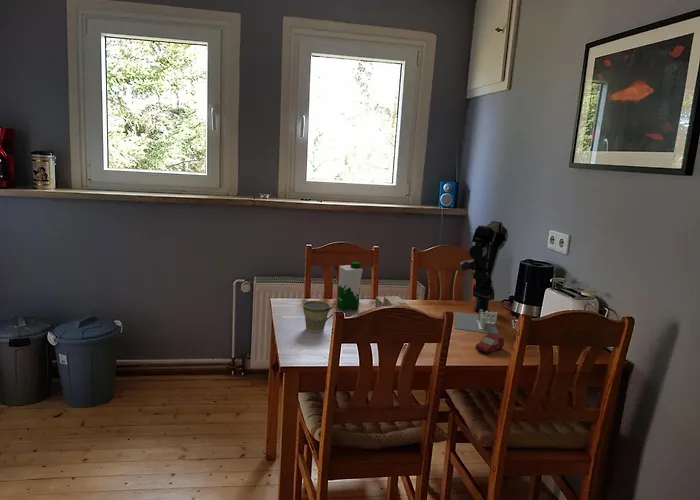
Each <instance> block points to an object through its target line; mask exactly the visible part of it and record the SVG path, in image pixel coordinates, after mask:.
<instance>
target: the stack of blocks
mask: <svg viewBox="0 0 700 500" xmlns="http://www.w3.org/2000/svg"><path fill="white" fill-rule="evenodd" d="M374 303H375V305H374V309H375V308H377V307H381V306H391V305H401V306H408V307H410V308H411V306H410V305H409V304H408V303H407V302H406V301H405V300H403V299H402V298H401V297H400V296H397V295H394V296H393V295H392V296H388V295H387V296H375V302H374Z"/></svg>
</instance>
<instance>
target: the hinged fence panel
mask: <svg viewBox="0 0 700 500" xmlns="http://www.w3.org/2000/svg"><path fill="white" fill-rule="evenodd" d="M485 320H486V317H485V313H484V312H481V313H480V320H479V323H480V325H481V328H484V327H485Z"/></svg>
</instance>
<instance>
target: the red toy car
mask: <svg viewBox="0 0 700 500" xmlns="http://www.w3.org/2000/svg"><path fill="white" fill-rule="evenodd" d="M504 346H505V339H504V337H503V336H500V335H499V334H498V335H497V334H490V333H488V334H487V335H484V337H483V338H482V339H481V340H479V342H478V343H477V344H476V345H475V346H474V350H477V351H479V352H481V353H482V352H483V353H485V354H487V355H490V354H491V352H494V351H496V350H501V351H502V350H503V347H504Z"/></svg>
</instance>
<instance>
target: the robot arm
mask: <svg viewBox="0 0 700 500" xmlns="http://www.w3.org/2000/svg"><path fill="white" fill-rule="evenodd" d="M508 239H509V232H508V229H507V228H506V227H505V226H504V223H503V222H501V221H496V220H493V221H490V223H488V224H486V225H478V226H477V227H476V228H475V230H474V233H473V236H472V240H471V243H474V245H472V246H471V247H470V249H469V250H468V252H469V256H470V258H472V259H468V260H464V261H461V262H459V264H460V268H461V271H462V272H466V271H469V270H471V271H472V272H471V275H472V279H473V280H474V284H473V287H472V297H473V298H476V302H475V306H474V307H473V309H474V312H476V313H477V312H478V313H479V312H480V309H482V310H484V311H483V312H484V314H485V312H486V311H488V312H489V313H490V309H489V307H490V306H489V305H490V301H493V300H494V301H495V297H496V296H495V295H496V292H495V288H494V283H493V280H492V279H493V276H494V271H495V267H496V264H497V260H498V258H499V253H500V250H501V249H503V248H504V247H505V246H506V243H507V242H508Z"/></svg>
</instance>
